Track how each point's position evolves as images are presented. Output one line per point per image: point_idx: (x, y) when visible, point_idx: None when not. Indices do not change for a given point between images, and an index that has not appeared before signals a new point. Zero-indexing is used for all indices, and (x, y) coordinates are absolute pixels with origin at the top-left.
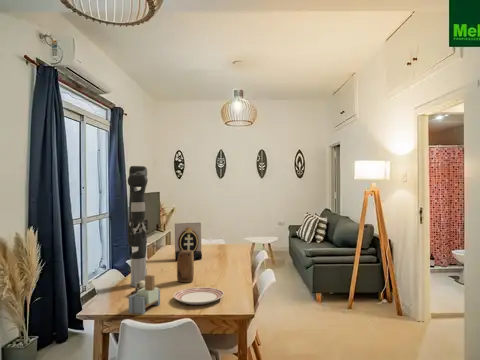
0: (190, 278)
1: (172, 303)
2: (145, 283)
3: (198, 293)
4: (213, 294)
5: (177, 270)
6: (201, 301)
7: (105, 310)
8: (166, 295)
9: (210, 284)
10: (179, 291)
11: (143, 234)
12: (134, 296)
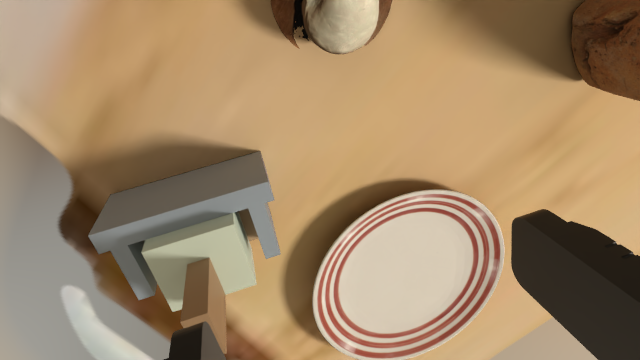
0: (596, 85)
1: (313, 238)
2: (186, 289)
3: (449, 235)
4: (460, 285)
5: (633, 12)
6: (376, 311)
7: (23, 68)
8: (375, 137)
9: (577, 175)
10: (408, 197)
11: (579, 317)
12: (116, 254)
